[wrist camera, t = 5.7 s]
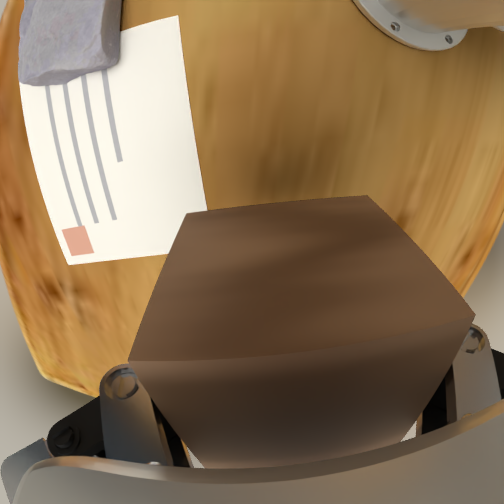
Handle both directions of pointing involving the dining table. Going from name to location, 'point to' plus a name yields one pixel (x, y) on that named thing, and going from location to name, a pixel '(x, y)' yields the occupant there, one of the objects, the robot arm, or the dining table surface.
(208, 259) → the walnut cube
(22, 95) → the letter
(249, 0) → the dining table surface
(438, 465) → the robot arm
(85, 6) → the stone block
